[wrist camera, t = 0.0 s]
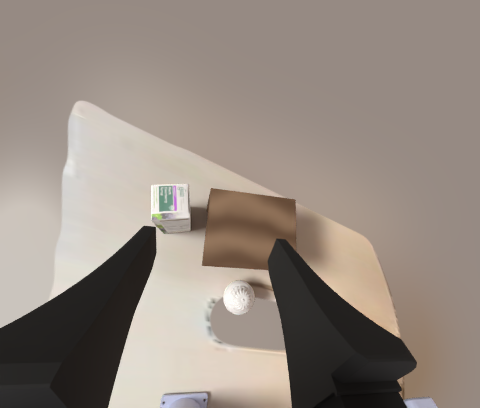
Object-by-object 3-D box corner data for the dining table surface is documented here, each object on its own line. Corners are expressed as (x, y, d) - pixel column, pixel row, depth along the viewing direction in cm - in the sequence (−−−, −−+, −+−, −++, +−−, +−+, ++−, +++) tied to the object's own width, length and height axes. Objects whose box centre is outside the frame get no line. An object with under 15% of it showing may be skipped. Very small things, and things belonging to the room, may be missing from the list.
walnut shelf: (272, 268, 45) (296, 271, 34) (200, 264, 42) (202, 265, 31) (273, 213, 49) (295, 199, 38) (207, 205, 46) (211, 188, 35)
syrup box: (162, 207, 43) (148, 183, 30) (190, 206, 45) (188, 182, 31) (163, 233, 42) (148, 221, 28) (192, 231, 43) (191, 218, 30)
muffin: (249, 310, 42) (259, 319, 35) (220, 310, 40) (225, 320, 34) (250, 278, 43) (260, 282, 37) (222, 277, 42) (227, 281, 36)
